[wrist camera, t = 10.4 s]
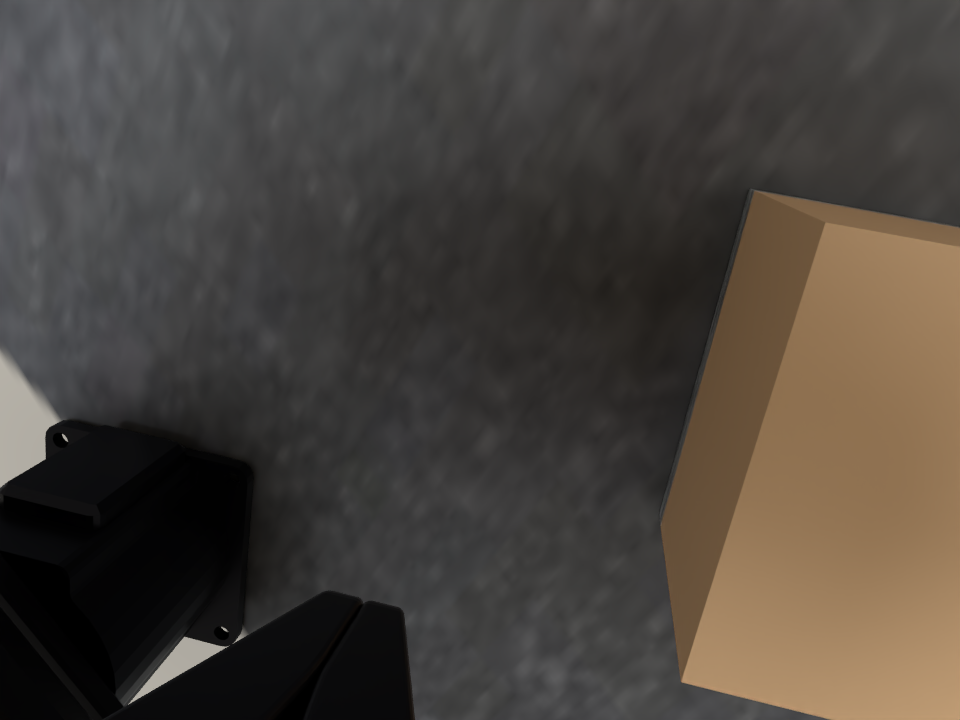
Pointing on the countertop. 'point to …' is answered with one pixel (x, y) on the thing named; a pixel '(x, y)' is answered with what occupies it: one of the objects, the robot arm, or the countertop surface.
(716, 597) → the tan block
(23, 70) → the countertop surface
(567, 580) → the countertop surface
